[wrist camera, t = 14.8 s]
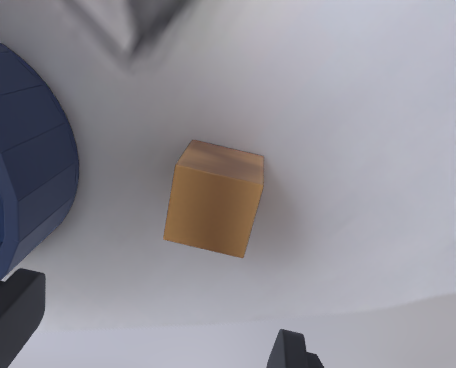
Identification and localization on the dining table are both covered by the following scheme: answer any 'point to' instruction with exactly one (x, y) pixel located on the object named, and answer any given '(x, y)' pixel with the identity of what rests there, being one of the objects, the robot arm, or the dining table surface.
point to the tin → (31, 161)
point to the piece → (214, 198)
